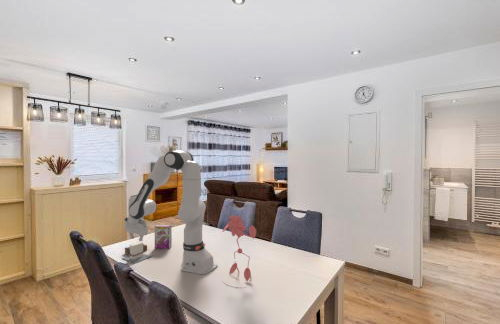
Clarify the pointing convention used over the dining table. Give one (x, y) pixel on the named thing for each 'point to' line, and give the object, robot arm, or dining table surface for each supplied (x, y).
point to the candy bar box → (163, 236)
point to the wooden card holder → (127, 250)
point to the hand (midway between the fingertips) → (136, 239)
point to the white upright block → (136, 250)
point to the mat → (136, 259)
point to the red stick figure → (237, 229)
